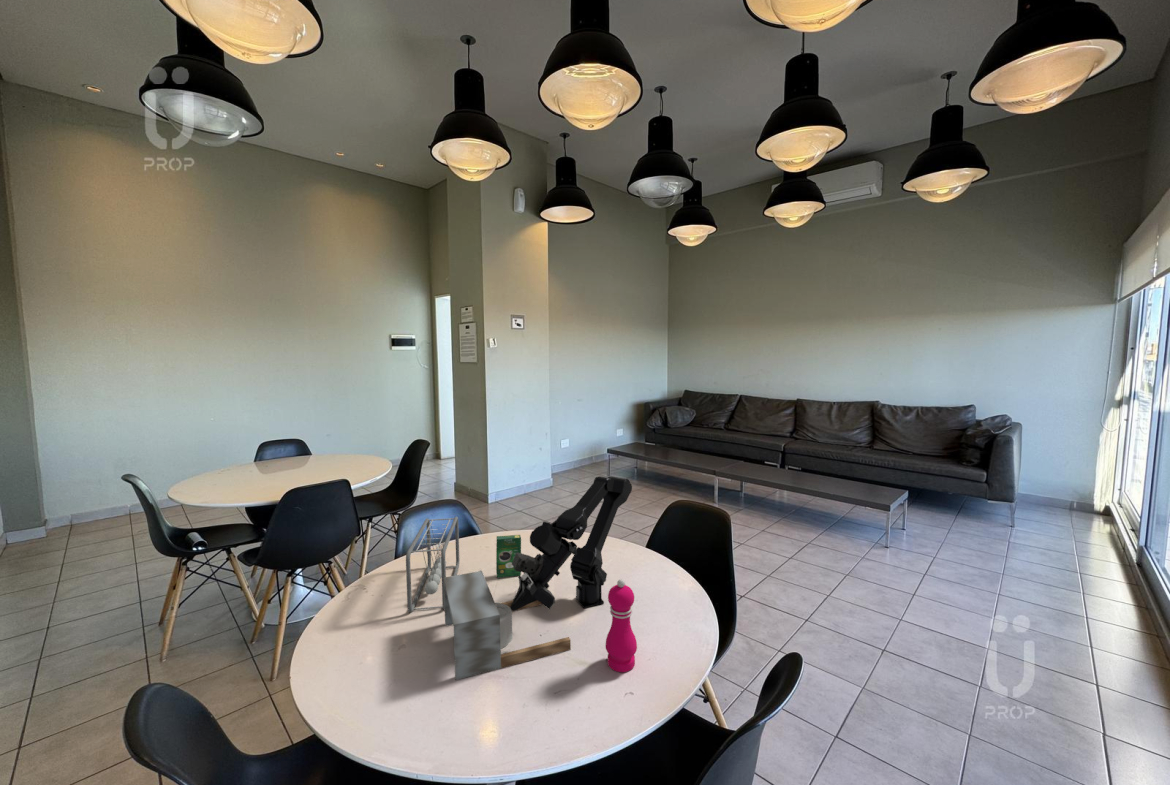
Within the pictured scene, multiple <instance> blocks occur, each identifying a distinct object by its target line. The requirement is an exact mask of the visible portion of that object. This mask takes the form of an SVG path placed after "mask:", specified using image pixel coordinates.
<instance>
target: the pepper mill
mask: <svg viewBox="0 0 1170 785" xmlns="http://www.w3.org/2000/svg"><path fill="white" fill-rule="evenodd" d="M607 601H608V603H609V605H610V606H609V609H610V610H609V612H610V615H611V618H612V619H611V626H610V629H609V631H608V633H607V635H606V639H605V650H606V652H607V653H608V654H607V665H608V667H609V668H610V669H611V670H613V671H614V672H617V673H628V672H630V671H631V670H633V669H634V667H635V665H636V662H635V661H636V658H635V654H636V652H637V651H638V650H637V649H638V644H637V638H636V636H635V633H634V631H633V629H632V625H631V616H632V614H633V607H632V606H634V602H635V593H634V592H633V589H632V588H631V587H630V586H629V585H626V582H625V580H624V579H621V578H619V579H618V580H617V582H616V585H613V586H611V588H610V589H609V591H608V593H607Z"/></svg>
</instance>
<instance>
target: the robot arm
mask: <svg viewBox="0 0 1170 785" xmlns="http://www.w3.org/2000/svg"><path fill="white" fill-rule="evenodd" d="M632 492H633V485H632V483H631V480H629V479H628V478H624V477H618V476H613V475H610V476H607V477H605V476H596V477H595V478H594V479H593V483H592V484H591V485H590V487H588V489H587V490H586V491H585V493H584V494H583V495H582V497H580V499H579V500H578V502H577V503H576V504H575V505H574V506H573V507H571V508H568V509H566V510H564V511H563V512H562V513H561V514H560V515H559V516H558V517H557V518H556V519H555V520H554V521H553V522H552V523H550V522H547V521H543V522H542V523H541V525H539V526H537V527H535V529H533V530H532V531H531V533H530V535H529V543H530V545H531V546H532V547H533V548H535V549H536V550H538V551H539V552H540V553H537V554H536V556H535V557H533V556H531V555H529V554H524V553H522V552H521V553H518V552H517V553H516V555H515V557H514V560H513V562H512V565H513V566H514V569H515V570H516V571H518V572H521V573H523V574H521V576H517V577H518V582H519V584H518V588H517V590H516V593H515V596H514V598H513V599H512V600H513V602H512V604H511V607H510V608H511V610H512V612H516V611H518V610H517V609H519V608H521V607H523V606H525V605H527V604H530V603H532V602H535V601H537V600H538V601H539V602H540V603H542V604H543V606H544V607H546V608H547V609H548V610H551V608H552V607H553V606H554V605H555V603H556V600H555V596H554V595H553V593H552V591H550V590H549V587H550V585H549V582H550V581H551V580H552V578H553V577H554V576H557V577H558V576H560V571H559V570H560V568H561V567H562V566H563V565H564V563H566V561H567V560H568V559H569V557H570V556H571V555H573V556H572V558H571V560H570V561H571V562H570V565H569V566H570V567H569V569H570V571H571V576H572V578H573V579H572V580H576V581H577V585H576V586H575V599H576V600H577V602H578V604H580V605H581V607H582V608H583V609H587V608H591V607H595V606H600V605H603V604H605V601H604V600H603V598H602V586H604V585H605V582H606V581H607V575H608V573H607V572H606V571H605V570H604V569H603V568H602V567H603V557H602V551H603V549H604V545H605V542H606V540H607V538H608V536H609V532H610V530H611V528H612V524H613V522H614V519H615V517H616V515H617V512H618V509H619V507H621V506H622V505H623V504H624V503H626V502H627V501H628V499H629V497H630V495H631V493H632ZM602 500H603V501H602ZM601 502H602V503H601ZM600 503H601V507H600V508H599V510H598V514H597V516H596V518H595V521H594V523H593V526H592V528H591V531H590V532H589V536H588V538H587V539H586V543H585V544H584V545H583V546H582V547H580V546H578V545H577V543H575V542H574V541H578V540H580V539H581V538H582V536H583V535H584V534H585V532H586V530H587V528H588V519H589V517H591V514H592V513H593V512H594V511H595V510H596V508H597V507H598V506H599V504H600ZM568 540H570V541H568ZM571 540H573V541H571ZM541 553H542V554H541ZM515 610H516V611H515Z"/></svg>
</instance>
